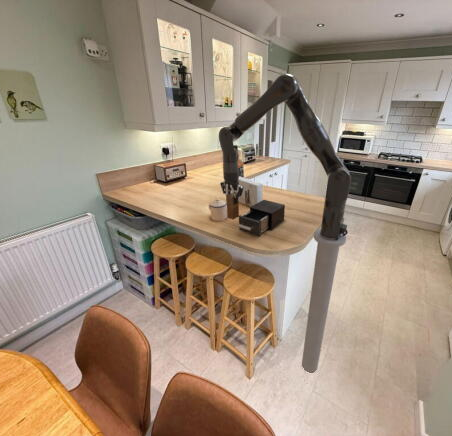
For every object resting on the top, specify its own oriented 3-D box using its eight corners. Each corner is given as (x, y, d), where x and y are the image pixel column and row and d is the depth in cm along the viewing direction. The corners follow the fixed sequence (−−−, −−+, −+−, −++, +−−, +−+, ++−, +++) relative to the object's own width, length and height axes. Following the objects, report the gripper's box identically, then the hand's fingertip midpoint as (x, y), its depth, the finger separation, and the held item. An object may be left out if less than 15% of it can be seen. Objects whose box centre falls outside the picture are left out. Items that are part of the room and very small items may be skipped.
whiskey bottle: (228, 189, 176) (225, 146, 162) (233, 185, 185) (231, 144, 171) (240, 191, 173) (239, 146, 159) (245, 187, 182) (244, 144, 168)
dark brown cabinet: (271, 230, 120) (271, 213, 115) (250, 223, 126) (249, 207, 122) (284, 220, 130) (284, 204, 125) (263, 214, 136) (263, 199, 132)
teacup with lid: (230, 217, 133) (229, 198, 128) (219, 223, 127) (217, 203, 122) (215, 211, 140) (214, 193, 135) (204, 217, 133) (202, 198, 128)
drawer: (254, 240, 109) (254, 225, 105) (234, 233, 115) (233, 219, 112) (272, 226, 121) (273, 213, 118) (253, 220, 127) (253, 207, 124)
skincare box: (234, 200, 156) (233, 177, 149) (241, 198, 160) (240, 176, 153) (256, 209, 143) (256, 185, 136) (263, 207, 146) (263, 183, 139)
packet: (239, 216, 125) (238, 193, 119) (233, 220, 122) (231, 196, 116) (233, 214, 127) (232, 192, 122) (227, 218, 124) (225, 195, 118)
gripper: (214, 169, 114) (217, 202, 121) (237, 174, 107) (238, 208, 114) (225, 166, 119) (227, 197, 127) (247, 170, 112) (247, 203, 120)
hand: (232, 202), depth 121 cm, fingers closed on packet, 4 cm apart
